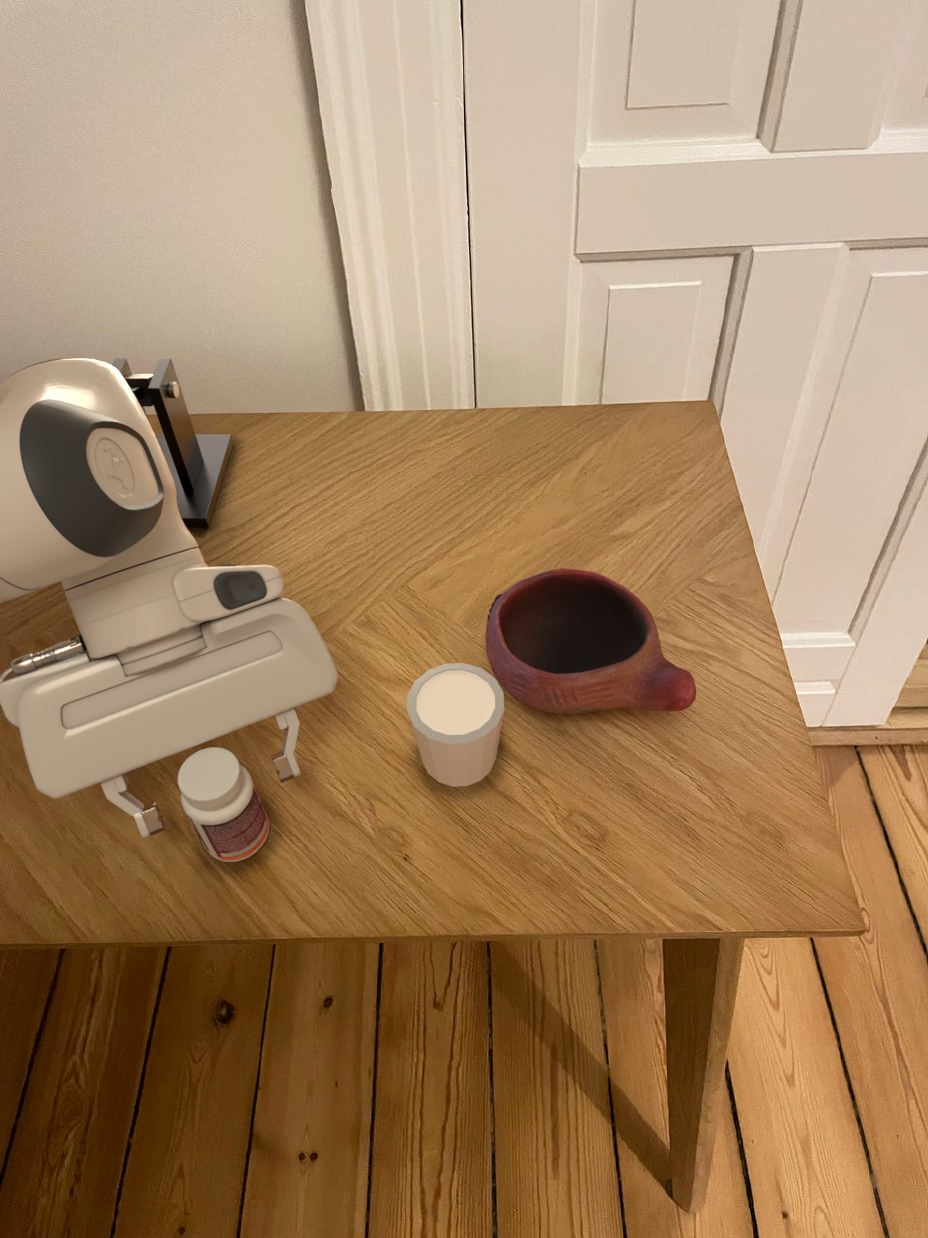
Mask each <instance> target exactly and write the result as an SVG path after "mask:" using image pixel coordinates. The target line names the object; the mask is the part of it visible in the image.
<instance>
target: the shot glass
mask: <svg viewBox="0 0 928 1238" xmlns="http://www.w3.org/2000/svg"><path fill="white" fill-rule="evenodd" d="M504 694H505V693H504V691H503V689H502V686H501V685H500V683H499V681H498V680H497V678H496V677H494V675H492V674H490V673H489V672H487V671H486V670H485V669H483V668H482V667H479V666H476V665H473V664H469V663H465V662H453V663H451V662H449V663H443V664H440V665H438V666H435V667H432V668H430V669H427V670H426V671H425V672H424V673H423V674H422V675H420V676H419V677H418V678H417V679H416V680H414V682H413V685H412V686H411V688H410V690H409V691H408V694H407V697H406V698H407V699H406V705H407V706H406V713H407V717H408V719H409V723H410V726H411V730H412V733H413V736H414V739H415V743H416V746H417V749H418V753H419V755H420V760H421V762H422V764H423V767H424V769H425V771H426V773H427V774H428V775H429V776H430V777H432V778H433V779H434V780H435V781H436V782H437V783H440V784H443V785H445V786H449V787H452V788H453V787H456V788H457V787H468V786H471V785H474V784H476V783H478V782H480V781H482V780H483V779H484V778H485V777H486V776H487V775H488V774H489V773H491V771H492V770H493V767H494V765H495V762H496V759H497V755H498V750H499V749H498V748H499V743H500V737H501V731H502V725H503V720H504V714H505V695H504Z"/></svg>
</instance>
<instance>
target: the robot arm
mask: <svg viewBox="0 0 928 1238" xmlns="http://www.w3.org/2000/svg"><path fill="white" fill-rule="evenodd" d="M147 417H148V416H147ZM147 417H146V415H145V413H144V412H143V410H142V408H141V406H140V404H139V402H138V400H137V399H136V397H135V395H134V393H133V392H132V390H131V388H130V387H129V385H128V384H127V382H126V380H125V379H124V377H123V376H122V375H121V373H120V372H119V371H118V370H117V369H116V368H115V367H114V366H112V364H110V363H107V362H105V361H102V360H98V359H95V358H86V357H66V358H65V357H63V358H53V359H48V360H44V361H40V362H37V363H33V364H31V365H28V366H26V367H23V368H21V369H19V370H18V371H16V372H14V373H13V374H11V375H10V376H9V377H7V378H6V379H5V380H4V382H3V383H2V384H1V386H0V604H3V603H6V602H8V601H11V600H14V599H17V598H20V597H24V596H26V595H29V594H31V593H34V592H37V591H38V592H39V591H40V590H42V589H45V588H46V587H48V586H52V585H55V584H57V583H59V582H60V584H61V588H62V591H63V593H64V596H65V598H66V601H67V604H68V606H69V608H70V612H71V614H72V616H73V619H74V621H75V623H76V626H77V629H78V631H79V633H80V634H79V635H78V636H75V637H71V638H69V639H66V640H64V641H61V642H58V643H55V644H53V645H50V646H49V647H48V648H45V649H42V650H39V651H36V652H31V653H26V654H23V655H21V656H18V657H16V658H15V659H12V660H11V662H10V666H9V667H7V668H6V669H5V670H4V671H3V672H2V673H1V674H0V707H1V711H2V712H3V715H4V717H5V718H6V720H7V721H8V722H9V723H10V724H11V725H12V726H14V727H16V728H18V729H19V734H20V735H19V736H20V738H21V743H22V747H23V751H24V755H25V760H26V762H27V766H28V770H29V773H30V775H31V778H32V781H33V784H34V786H35V788H36V790H37V792H39V793H41V794H43V795H45V796H47V797H49V798H51V799H52V800H53V799H54V800H58V799H61V798H64V797H66V796H70V795H72V794H75V793H77V792H80V791H83V790H85V789H87V788H90V787H92V786H95V785H98V784H100V786H101V788H102V791H103V793H104V796H105V799H106V800H107V801H109V802H111V803H112V804H113V805H115V806H117V807H118V808H119V809H120V810H122V811H123V812H124V813H126V814H127V815H129V816H130V817H133V819H134V821H135V824H136V826H137V828H138V831H139V833H140V836H141V838H142V839H143V840H144V839H147V838H149V837H151V836H154V835H156V834H159V833H161V832H163V831H165V830H166V822H165V820H164V817H163V815H162V814H160V812H161V809H160V806H159V804H158V802H157V800H156V801H152V802H149V803H147V804H144V803H142V802H141V801H140V800H139V799H137V798H136V797H134V795H132V794H131V793H129V792H128V791H127V789H128V786H129V784H130V780H129V778H128V775H127V773H129V772H132V771H134V770H136V769H139V768H142V767H144V766H147V765H150V764H152V763H155V762H158V761H160V760H164V759H165V758H168V757H170V756H173V755H176V754H178V753H181V752H184V751H187V750H188V749H191V748H194V747H197V746H199V745H201V744H204V743H207V742H209V741H212V740H214V739H217V738H220V737H223V736H225V735H228V734H231V733H233V732H235V731H238V730H241V729H243V728H246V727H248V726H251V725H253V724H256V723H260V722H261V721H264V720H266V719H269V718H272V717H274V720H275V722H276V725H277V727H278V728H279V730H282V731H283V730H284V733H283V737H282V744H281V749H280V750H281V751H279V752H277V753H274V754H271V755H270V758H271V760H272V763H273V765H274V767H275V770H276V773H277V776H278V779H279V781H280V783H281V784H282V783H285V782H288V781H290V780H293V779H295V778H297V777H300V776H302V773H301V770H300V767H299V764H298V762H297V759H296V756H295V753H294V752H295V751H296V746H297V740H298V736H299V730H300V724H301V723H300V719H299V718H298V717H299V716H298V715H297V712H296V708H298V707H301V706H302V705H305V704H308V703H310V702H313V701H316V700H318V699H321V698H324V697H326V696H328V695H331V694H333V692H334V691H335V689H336V686H337V685H338V682H339V681H338V680H339V673H338V670H337V668H336V664H335V662H334V660H333V658H332V657H333V656H332V655H331V653H330V651H329V648H328V646H327V644H326V643H325V640H324V639H323V637H322V634H321V632H320V631H319V629H318V627H317V625H316V624H315V622H314V620H313V619H312V617H311V616H310V614H309V613H308V612H307V610H306V609H305V608H304V607H303V606H302V605H300V604H299V603H297V602H296V601H294V600H292V599H289V598H286V597H281V595H282V594H283V593H284V591H285V582H284V578H283V576H282V575H283V574H282V573H281V571H280V570H279V568H277V566H274V565H270V564H247V565H243V564H242V565H237V563H231V562H229V563H223V564H222V565H221V566H218V565H217V566H209V565H208V564H207V562H205V560H204V557H203V554H202V551H201V549H200V548H199V544H198V542H197V539H195V537H194V536H193V534H192V533H191V532H190V530H189V529H188V528H186V526H185V524H184V523H183V521H182V519H181V516H180V513H179V510H178V506H177V499H176V487H175V483H174V480H173V478H172V475H171V472H170V470H169V467H168V464H167V462H166V459H165V457H164V455H163V452H162V450H161V447H160V445H159V443H158V441H157V438H156V436H155V434H156V433H155V432H154V430H153V428H152V425H151V423H150V420H149V418H148V419H147ZM148 420H149V421H148ZM150 425H151V426H150ZM13 673H14V674H15V675H16V676H14V677H12V678H9V679H8V677H9V676H11V675H12V674H13Z"/></svg>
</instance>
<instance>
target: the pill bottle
mask: <svg viewBox="0 0 928 1238" xmlns="http://www.w3.org/2000/svg"><path fill="white" fill-rule="evenodd" d="M252 778H253V777H252V776H251V775H250V772H249V771H248V770H247V769H246V768H245V767H244V766H243V765H242V764H241V763H240V761H239V759H238V757H237V756H236V755H235V754H234V753H233V752H232V751H230V750H229V749H226V748H224V747H219V746H210V747H206V748H202V749H199V750H196V751H195V752H193V753H192V754H190V755H189V756H188V757H187V758H186V759H185V761H183V763H182V765H181V766H180V768H179V770H178V774H177V786H178V788H179V791H180V794H181V795H180V801H181V808H182V810H183V812H184V813H185V815H186V817H187V818H188V820H189V822H190V824H191V826H192V827H193V829H194V831H195V833H196V835H197V836H198V838H199V840H200V842H201V844H202V845H203V847H204V849H205V850H206V852H207V853H208V855H210V856H211V857H212V858H214V859H216V860H217V861H220V862H223V863H236V862H240V861H244V860H247V859H248V858H251V857H252V856H254V855H256V853H257V852H258V851H259V850H260V849H261V848H262V847H263V846H264V844H265V842H266V841H267V839H268V835H269V832H270V822H269V818H268V815H267V813H266V810H265V808H264V804H263V802H262V800H261V797H260V795H259V792H258V791H257V788H256V785H255V783H254V781H253V779H252Z"/></svg>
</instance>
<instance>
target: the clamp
mask: <svg viewBox="0 0 928 1238" xmlns="http://www.w3.org/2000/svg"><path fill="white" fill-rule="evenodd" d="M111 365H112V366H114V367H115V368H116V369H117V370H118V371H119V372H120V373H121V375H122V376H123V377H124V378H126V377H128V376H131V375H133V372H132V370H131V368H130V367H131V366H130V365H129V362H128V359H127V357H116V358H114V360H113V362H112V364H111ZM152 374H153V377H152V379H151V382H150V384H149V387H148V391H149V394H150V397H151V399H152V402H153V408H154V411H155V414H156V416H157V420H158V422H159V425H160V427H161V430H162V433H154V434H155V436H156V438H157V441H158V443H159V445H160V447H161V450H162V452H163V455H164V457H165V459H166V462H167V464H168V467H169V470H170V472H171V475H172V478H173V480H174V483H175V487H176V499H177V506H178V510H179V513H180V516H181V519H182V521H183V523H184V524H185V526H186V528H187V529H188V528H191V529H192V528H195V529H196V528H198V529H199V528H200V529H203V528H204V529H205V528H207V529H208V528H210V525H211V521H212V518H213V515H214V511H215V509H216V504H217V501H218V498H219V494H220V490H221V487H222V484H223V482H224V477H225V474H226V471H227V467H228V464H229V461H230V457H231V454H232V451H233V448H234V444H235V442H234V439H233V435H232V434H231V433H225V434H222V433H212V434H210V433H207V434H206V433H198V434H197V433H195V429H194V426H193V422H192V420H191V416H190V414H189V410H188V407H187V403H186V401H185V397H184V395H183V391H182V388H181V384H180V381H179V378H178V375H177V372H176V370H175V366H174V363H173V360H172V358H171V357H160V358H159V360H158V362H157V365H156V367H155V370H154V371H153V373H152ZM141 408H142V410H143V412H144V413H145V415H146V417H147V419H148V421H149V422H150V420H149V416H148V415H147V412H146V409H145V407H141ZM150 426H151V427H152V425H151V424H150Z"/></svg>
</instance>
